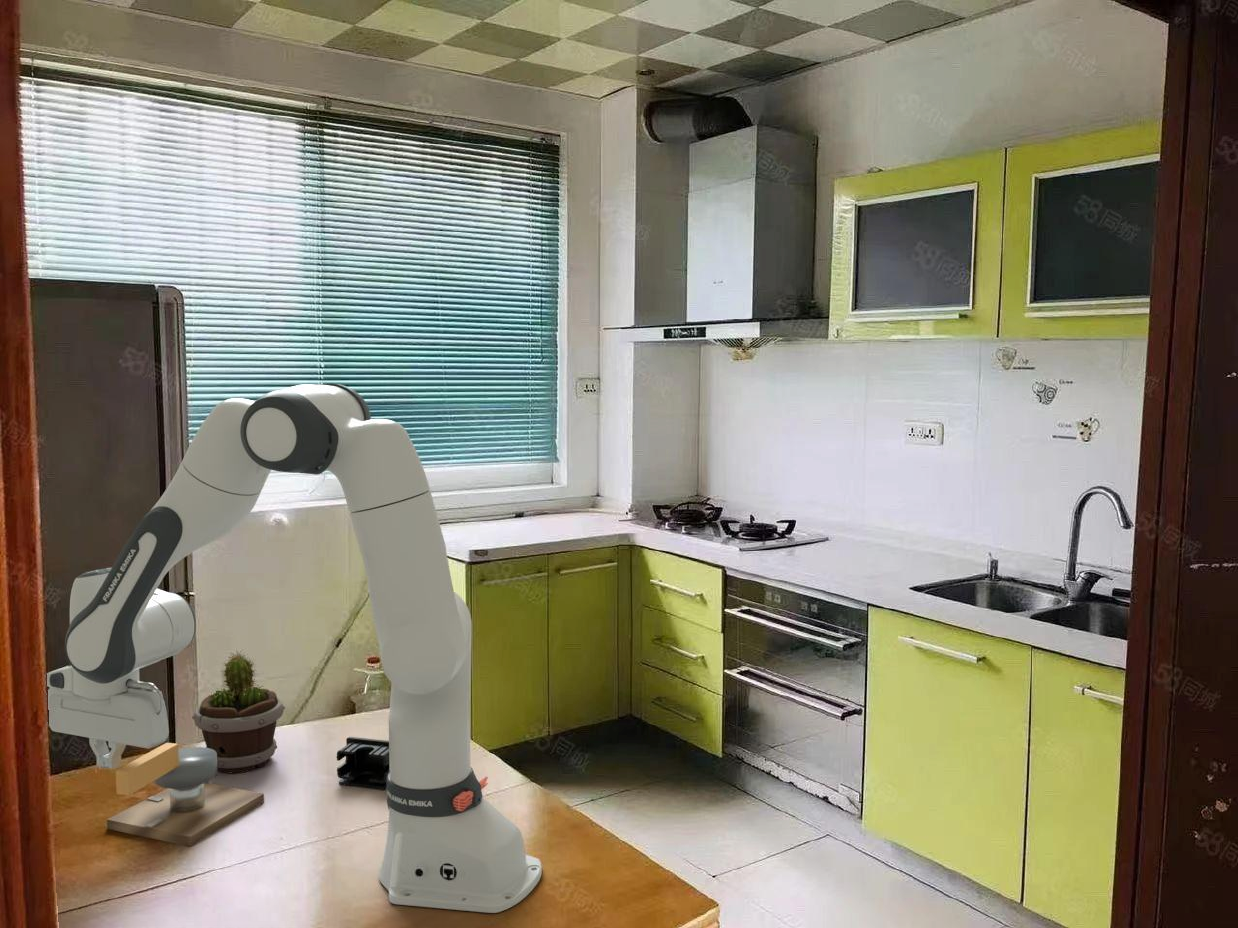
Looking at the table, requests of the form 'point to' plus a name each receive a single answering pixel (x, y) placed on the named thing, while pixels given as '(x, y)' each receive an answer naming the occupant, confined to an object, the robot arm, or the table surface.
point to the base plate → (185, 815)
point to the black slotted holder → (364, 763)
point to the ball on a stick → (168, 769)
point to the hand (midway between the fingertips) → (109, 766)
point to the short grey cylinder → (187, 799)
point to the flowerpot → (239, 719)
